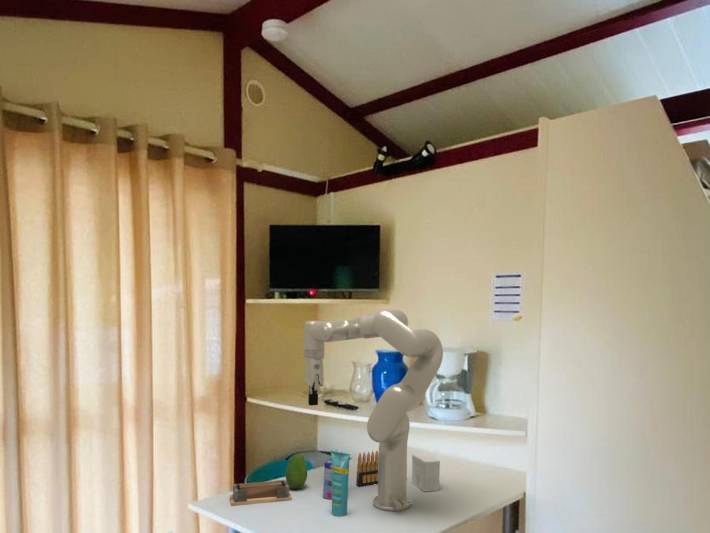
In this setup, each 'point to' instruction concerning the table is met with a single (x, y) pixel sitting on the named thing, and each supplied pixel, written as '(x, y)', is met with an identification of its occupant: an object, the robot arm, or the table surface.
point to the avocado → (296, 472)
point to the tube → (339, 482)
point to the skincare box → (425, 472)
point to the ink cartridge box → (328, 480)
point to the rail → (241, 498)
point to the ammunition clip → (367, 470)
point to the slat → (261, 489)
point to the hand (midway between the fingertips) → (313, 404)
